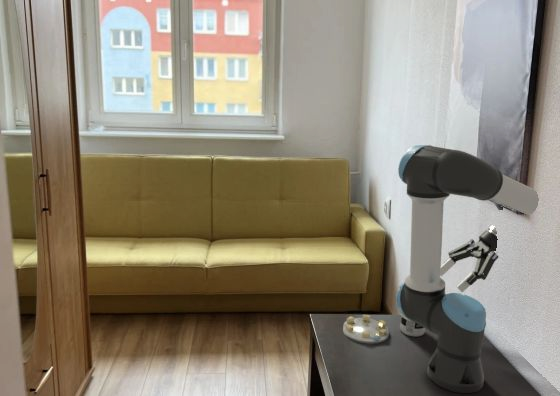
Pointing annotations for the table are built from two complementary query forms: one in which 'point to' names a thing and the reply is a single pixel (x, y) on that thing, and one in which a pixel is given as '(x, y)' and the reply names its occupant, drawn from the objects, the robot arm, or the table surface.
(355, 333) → the ring plate
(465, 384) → the robot arm
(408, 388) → the table surface
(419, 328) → the supplement can
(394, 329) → the table surface
